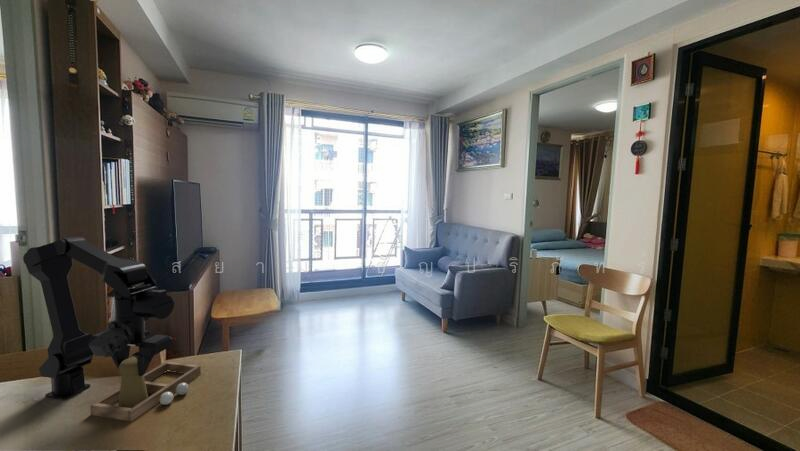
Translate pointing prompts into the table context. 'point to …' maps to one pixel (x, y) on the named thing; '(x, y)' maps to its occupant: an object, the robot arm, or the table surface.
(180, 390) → the pebble
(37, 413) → the table surface
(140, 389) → the olive tapered figurine
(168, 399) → the pebble
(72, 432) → the table surface
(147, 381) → the caddy
